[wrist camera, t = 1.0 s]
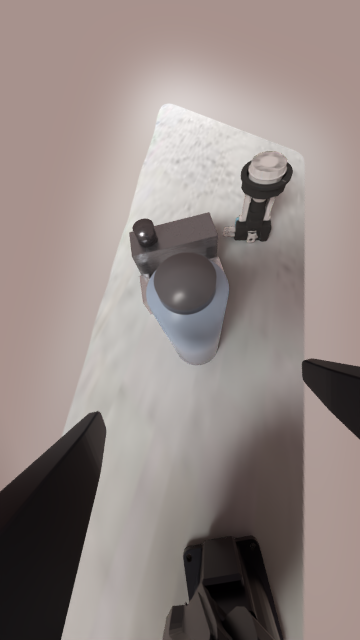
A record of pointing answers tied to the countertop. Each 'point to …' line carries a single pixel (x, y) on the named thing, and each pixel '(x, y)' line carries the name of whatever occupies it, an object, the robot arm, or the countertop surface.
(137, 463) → the countertop surface
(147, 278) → the motor block
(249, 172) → the push button
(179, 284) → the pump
